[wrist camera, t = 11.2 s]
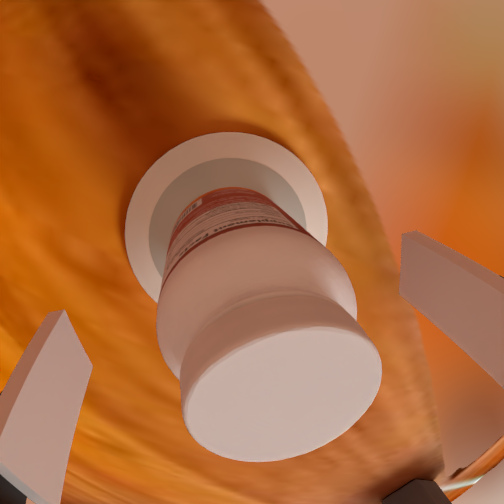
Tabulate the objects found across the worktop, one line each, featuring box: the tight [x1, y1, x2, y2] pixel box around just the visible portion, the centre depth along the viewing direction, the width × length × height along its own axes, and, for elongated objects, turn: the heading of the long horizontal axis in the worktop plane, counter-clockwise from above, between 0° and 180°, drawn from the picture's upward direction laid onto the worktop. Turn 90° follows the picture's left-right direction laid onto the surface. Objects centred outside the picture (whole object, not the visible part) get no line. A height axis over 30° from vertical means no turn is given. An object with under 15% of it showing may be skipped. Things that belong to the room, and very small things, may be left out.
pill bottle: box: [156, 186, 382, 462], centre depth 11 cm, size 6×6×11 cm
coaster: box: [125, 132, 328, 303], centre depth 17 cm, size 11×11×1 cm
